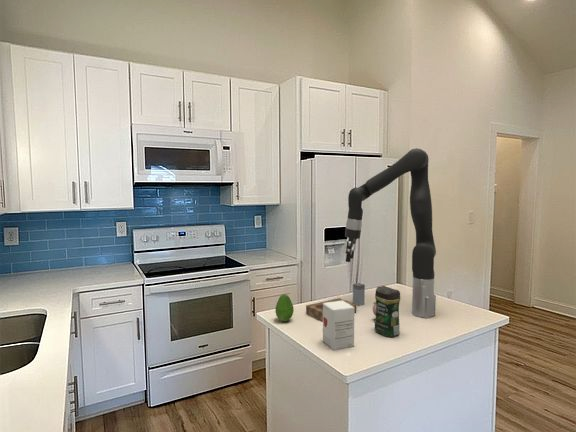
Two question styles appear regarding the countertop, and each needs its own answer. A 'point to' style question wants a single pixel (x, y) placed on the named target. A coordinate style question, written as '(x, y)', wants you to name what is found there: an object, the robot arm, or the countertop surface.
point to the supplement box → (338, 324)
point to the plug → (358, 294)
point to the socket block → (317, 308)
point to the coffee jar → (387, 311)
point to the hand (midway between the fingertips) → (349, 259)
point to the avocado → (284, 308)
